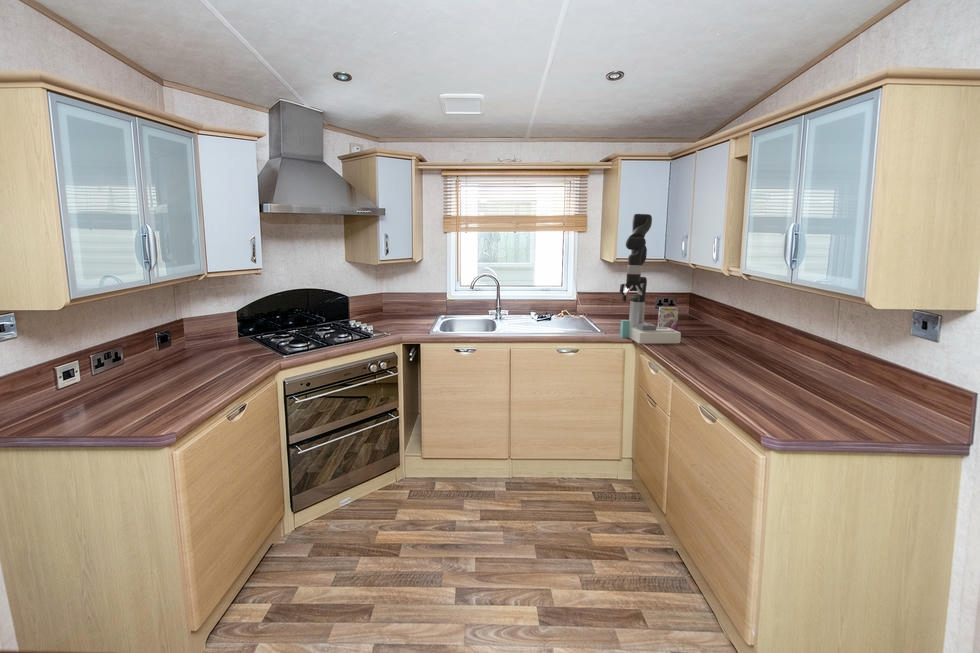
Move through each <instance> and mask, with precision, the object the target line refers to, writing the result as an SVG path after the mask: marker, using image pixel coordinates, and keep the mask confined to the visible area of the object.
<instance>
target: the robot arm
mask: <svg viewBox="0 0 980 653" xmlns="http://www.w3.org/2000/svg"><path fill="white" fill-rule="evenodd" d="M652 222H653V217H652V215H651V214H649V213H648V214H647V213H635V214H633V215H632V223H631V224H632V226H631V227H632V234H631V235H629V236H628V237H627V238H626V241H625V247H626V249H627V250H629V251H630V250H631V254H629V255H628V259H627V267H626V268H627V269H626V282H625V283H623V282H622V283H620V286H619V294H620V295H622V301H623V303H626V302H627V294H628V293H630V292H636V293H637V294H636V295H632V296H630V299H629V301H630V304H629V315H628V316H629V318H628V320H629V321H630V327H629V328H635V327H637V323H644V322H645V309H646V293H647V284H648V279H647V277H646V276H641V275H642V266H643V265H644V263H646V260H647V254H648V253H647V252H648V248H647V246H646V244H647V243H646V242H647V241H646V239H645V237H646V234H647V233H648V232H649V230H650V229H651V227H652ZM625 287H626V288H625Z"/></svg>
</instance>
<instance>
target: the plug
mask: <svg viewBox="0 0 980 653" xmlns="http://www.w3.org/2000/svg"><path fill="white" fill-rule="evenodd" d="M629 328H630V321H629V319H620V328H619V337H620V338H622V339H630V338H629Z"/></svg>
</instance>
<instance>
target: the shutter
mask: <svg viewBox="0 0 980 653" xmlns="http://www.w3.org/2000/svg"><path fill="white" fill-rule="evenodd" d="M656 327H657V325H656V324H653V323H651V322H650V323H649V322H648V323H647V322H645V321H644V323H637V329H639V330H641V331H642V330H656Z"/></svg>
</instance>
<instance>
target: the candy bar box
mask: <svg viewBox="0 0 980 653" xmlns="http://www.w3.org/2000/svg"><path fill="white" fill-rule="evenodd" d="M679 311H680V308H679V307H677V306H659V307H658V316H657V325H656V327H667V328H671V329H674V330H675V331H678V323H679Z"/></svg>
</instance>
